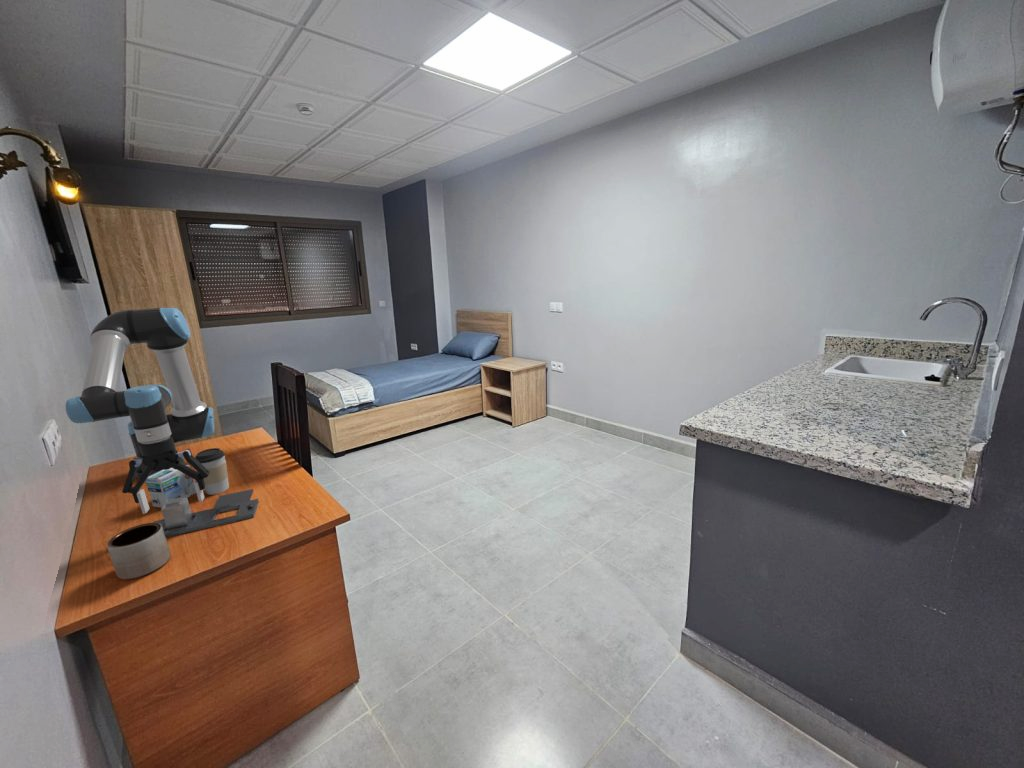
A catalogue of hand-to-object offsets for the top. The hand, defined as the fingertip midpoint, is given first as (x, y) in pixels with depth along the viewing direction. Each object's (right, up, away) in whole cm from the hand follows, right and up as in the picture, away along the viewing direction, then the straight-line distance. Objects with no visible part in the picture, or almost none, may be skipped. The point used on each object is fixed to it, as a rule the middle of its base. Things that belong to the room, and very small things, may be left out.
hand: (174, 505), depth 123 cm
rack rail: (+6, -6, +4) cm, 9 cm away
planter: (+5, -12, -15) cm, 19 cm away
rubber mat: (+7, -3, +16) cm, 17 cm away
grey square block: (0, -7, +2) cm, 7 cm away
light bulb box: (-15, -4, +18) cm, 24 cm away
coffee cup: (-4, -2, +24) cm, 24 cm away
